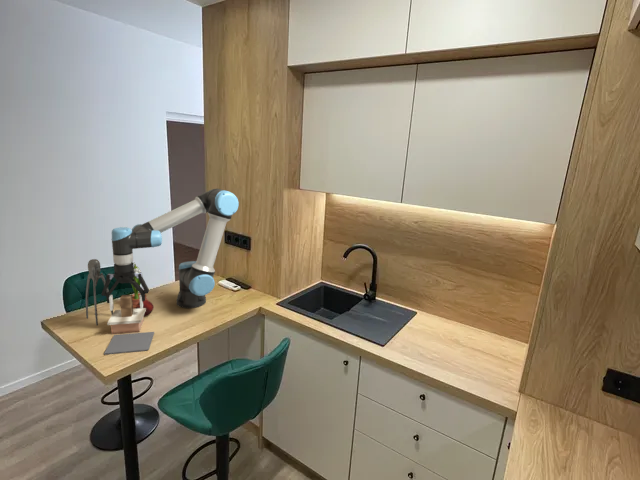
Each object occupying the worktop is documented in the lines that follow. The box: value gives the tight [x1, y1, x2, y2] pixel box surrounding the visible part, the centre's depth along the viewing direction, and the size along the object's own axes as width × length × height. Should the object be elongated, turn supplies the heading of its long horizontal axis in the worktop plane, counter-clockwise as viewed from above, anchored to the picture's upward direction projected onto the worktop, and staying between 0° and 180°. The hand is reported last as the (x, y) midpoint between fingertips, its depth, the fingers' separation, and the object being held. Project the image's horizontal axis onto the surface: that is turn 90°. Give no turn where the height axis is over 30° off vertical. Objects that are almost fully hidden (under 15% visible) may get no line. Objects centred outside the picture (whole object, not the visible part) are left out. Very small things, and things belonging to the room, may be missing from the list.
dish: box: [110, 316, 145, 335], centre depth 158 cm, size 11×11×5 cm
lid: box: [106, 294, 146, 326], centre depth 156 cm, size 13×13×11 cm
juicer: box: [85, 258, 114, 326], centre depth 160 cm, size 10×11×30 cm
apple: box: [136, 299, 154, 317], centre depth 170 cm, size 7×8×8 cm
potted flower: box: [130, 261, 149, 309], centre depth 176 cm, size 12×10×25 cm
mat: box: [103, 331, 155, 356], centre depth 145 cm, size 16×15×1 cm
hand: (127, 308), depth 156 cm, fingers open, 11 cm apart
